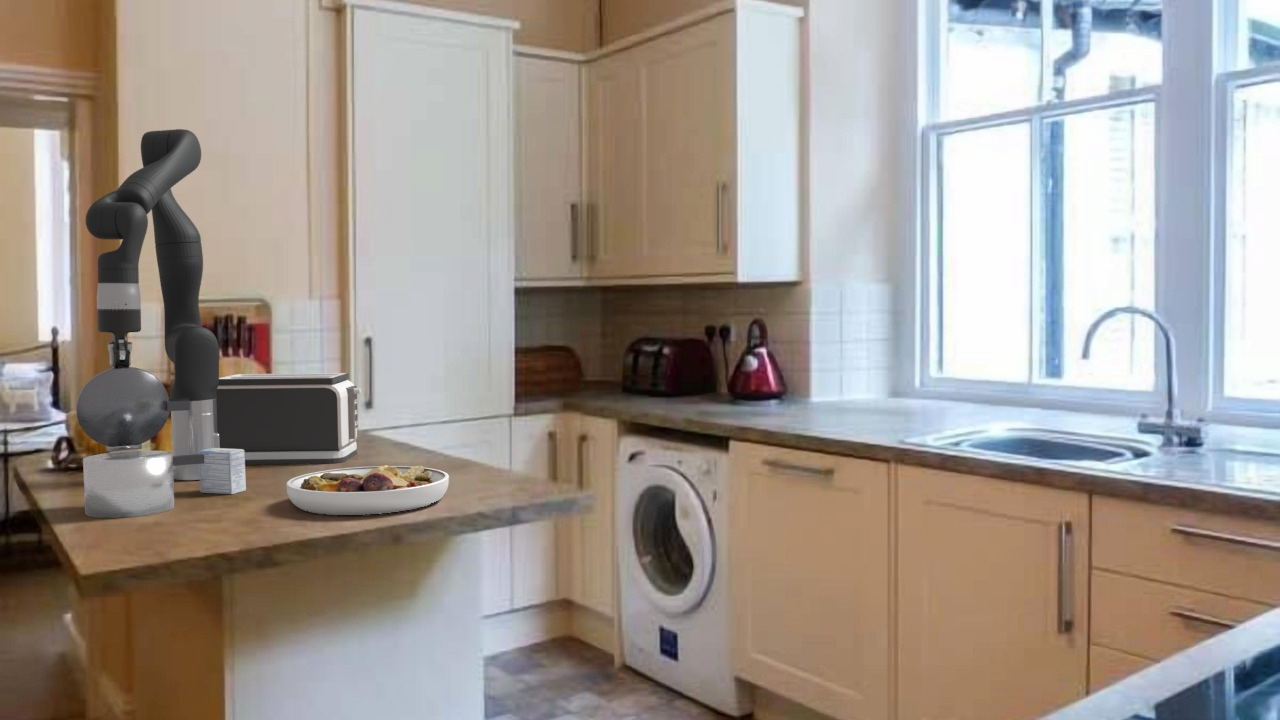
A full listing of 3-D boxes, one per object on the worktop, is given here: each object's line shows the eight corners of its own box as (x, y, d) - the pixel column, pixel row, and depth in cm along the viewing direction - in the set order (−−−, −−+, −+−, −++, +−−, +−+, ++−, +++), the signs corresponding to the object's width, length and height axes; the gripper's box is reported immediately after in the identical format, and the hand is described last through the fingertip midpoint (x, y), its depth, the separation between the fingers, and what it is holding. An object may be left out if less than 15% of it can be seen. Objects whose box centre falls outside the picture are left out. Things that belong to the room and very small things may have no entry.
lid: (189, 446, 211) (186, 440, 213) (189, 366, 206) (187, 361, 209) (77, 454, 201) (76, 448, 204) (75, 370, 196) (74, 364, 199)
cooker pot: (197, 494, 214) (195, 445, 213) (211, 508, 199) (209, 455, 199) (82, 505, 203) (80, 453, 203) (87, 521, 189) (85, 465, 188)
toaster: (352, 464, 253) (350, 378, 252) (204, 466, 252) (201, 379, 250) (370, 452, 272) (368, 372, 271) (232, 454, 271) (229, 373, 270)
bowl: (280, 497, 213) (279, 457, 212) (430, 485, 224) (429, 448, 224) (295, 526, 185) (294, 481, 185) (465, 511, 197) (465, 469, 196)
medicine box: (246, 491, 218) (245, 449, 217) (231, 495, 213) (230, 452, 213) (215, 489, 220) (213, 447, 220) (199, 493, 216) (198, 450, 215)
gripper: (143, 307, 200) (145, 399, 201) (137, 307, 212) (139, 394, 213) (99, 307, 197) (101, 401, 197) (95, 307, 208) (96, 396, 209)
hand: (120, 397), depth 205 cm, fingers closed
